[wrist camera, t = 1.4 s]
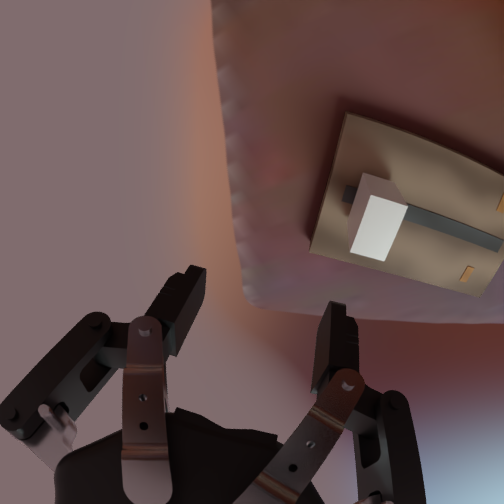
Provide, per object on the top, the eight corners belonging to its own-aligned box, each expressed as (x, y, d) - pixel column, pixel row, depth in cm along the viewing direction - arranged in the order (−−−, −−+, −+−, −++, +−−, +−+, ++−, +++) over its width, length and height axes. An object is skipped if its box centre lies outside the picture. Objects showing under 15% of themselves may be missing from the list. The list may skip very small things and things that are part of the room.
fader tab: (362, 172, 24) (370, 194, 20) (394, 182, 24) (407, 206, 20) (346, 222, 27) (349, 252, 23) (376, 230, 27) (384, 261, 23)
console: (345, 110, 24) (347, 113, 22) (526, 187, 22) (535, 195, 20) (310, 241, 32) (308, 252, 30) (474, 287, 30) (479, 298, 28)
